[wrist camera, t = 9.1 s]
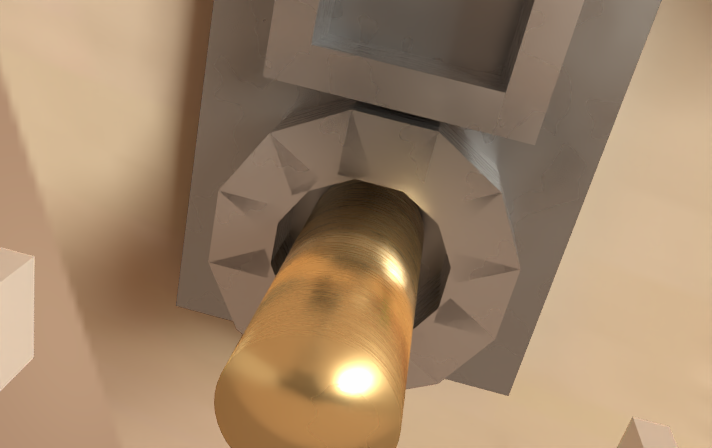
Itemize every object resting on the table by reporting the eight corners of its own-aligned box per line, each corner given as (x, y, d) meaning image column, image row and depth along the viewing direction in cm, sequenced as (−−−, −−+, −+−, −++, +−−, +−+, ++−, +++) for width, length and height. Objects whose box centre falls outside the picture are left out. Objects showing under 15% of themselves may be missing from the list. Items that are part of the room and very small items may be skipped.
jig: (264, -230, 20) (211, -277, 16) (692, -132, 19) (755, -154, 15) (195, 281, 27) (146, 342, 23) (505, 365, 27) (513, 443, 23)
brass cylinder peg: (320, 165, 23) (226, 313, 13) (436, 193, 22) (421, 363, 13) (301, 268, 24) (204, 463, 15) (408, 295, 24) (378, 510, 15)
